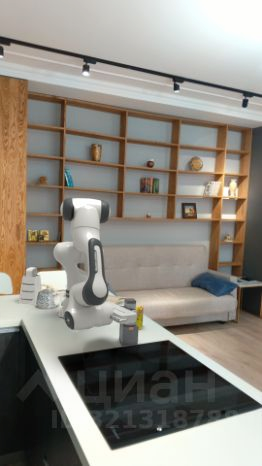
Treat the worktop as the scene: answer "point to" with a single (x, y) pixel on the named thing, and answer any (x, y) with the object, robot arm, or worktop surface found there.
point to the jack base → (128, 335)
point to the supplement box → (139, 316)
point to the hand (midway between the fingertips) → (131, 309)
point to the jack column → (130, 307)
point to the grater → (30, 287)
